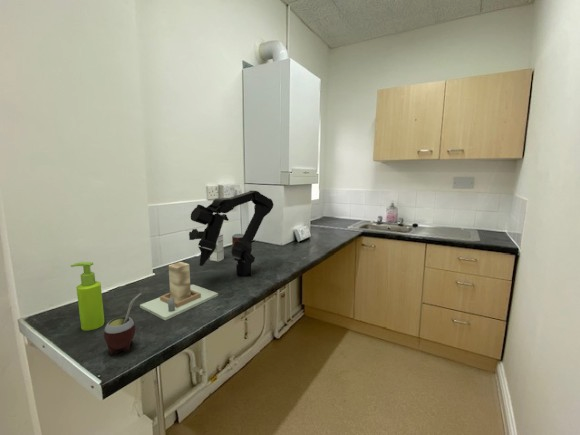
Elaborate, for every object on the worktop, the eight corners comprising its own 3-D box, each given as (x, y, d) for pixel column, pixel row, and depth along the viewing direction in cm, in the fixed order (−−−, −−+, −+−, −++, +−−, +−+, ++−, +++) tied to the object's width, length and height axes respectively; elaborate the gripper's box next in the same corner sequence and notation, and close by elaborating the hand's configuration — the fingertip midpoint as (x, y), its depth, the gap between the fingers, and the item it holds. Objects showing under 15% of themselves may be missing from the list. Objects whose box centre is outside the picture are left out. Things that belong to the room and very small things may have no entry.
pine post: (182, 294, 104) (180, 261, 102) (190, 298, 102) (189, 264, 100) (170, 299, 100) (168, 265, 98) (178, 303, 98) (176, 268, 96)
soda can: (231, 257, 155) (230, 235, 153) (234, 253, 162) (234, 233, 160) (243, 257, 154) (243, 236, 152) (246, 254, 161) (246, 233, 159)
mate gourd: (99, 353, 72) (94, 299, 70) (128, 337, 79) (123, 287, 77) (118, 361, 69) (113, 305, 67) (146, 343, 76) (142, 292, 74)
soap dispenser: (85, 320, 87) (78, 260, 84) (108, 319, 88) (102, 259, 85) (72, 331, 82) (64, 266, 78) (97, 330, 82) (90, 266, 79)
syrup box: (224, 258, 151) (223, 233, 149) (218, 262, 146) (217, 235, 144) (215, 257, 153) (214, 232, 151) (208, 260, 148) (208, 234, 145)
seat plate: (193, 286, 114) (192, 275, 114) (218, 295, 106) (217, 283, 105) (140, 307, 96) (138, 294, 95) (165, 320, 88) (164, 305, 87)
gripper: (196, 223, 121) (184, 258, 118) (191, 220, 103) (177, 261, 100) (221, 231, 123) (210, 265, 121) (221, 229, 105) (208, 269, 103)
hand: (201, 264), depth 111 cm, fingers open, 9 cm apart
